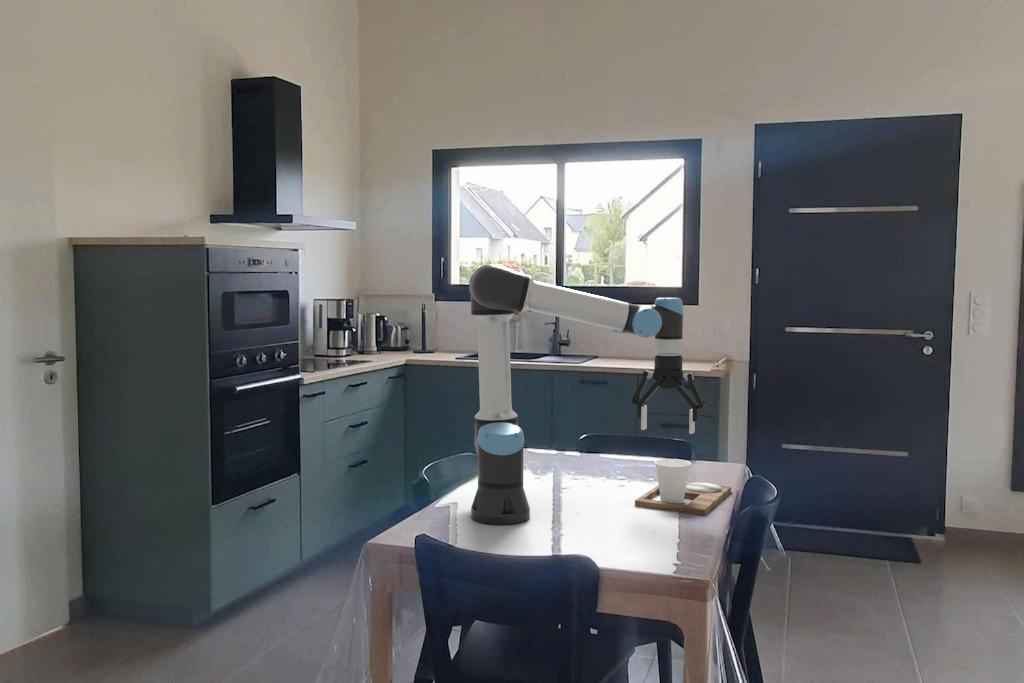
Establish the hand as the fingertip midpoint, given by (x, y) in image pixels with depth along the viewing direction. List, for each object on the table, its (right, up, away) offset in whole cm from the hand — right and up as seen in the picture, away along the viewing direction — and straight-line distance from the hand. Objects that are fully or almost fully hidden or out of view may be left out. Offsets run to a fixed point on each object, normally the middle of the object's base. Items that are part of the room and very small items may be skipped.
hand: (667, 431), depth 241 cm
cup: (+1, -20, 0) cm, 20 cm away
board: (+5, -19, +3) cm, 20 cm away
